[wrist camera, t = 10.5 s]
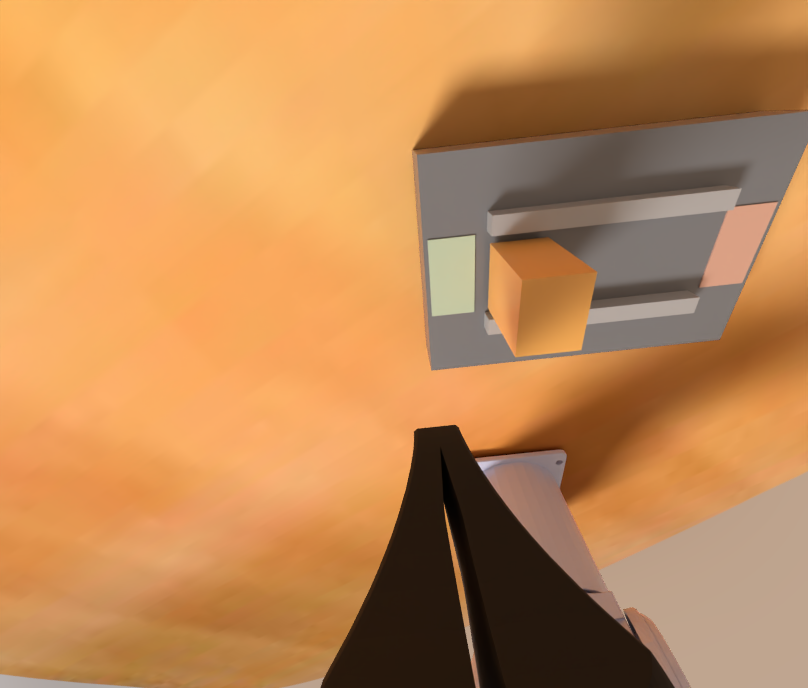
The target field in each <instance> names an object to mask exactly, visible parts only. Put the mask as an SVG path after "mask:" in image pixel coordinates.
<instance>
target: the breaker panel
mask: <svg viewBox="0 0 808 688" xmlns="http://www.w3.org/2000/svg"><path fill="white" fill-rule="evenodd" d="M807 143H808V110H784V111H757V112H748V113H739V114H730V115H721V116H713V117H704V118H695V119H686V120H677V121H668V122H659V123H650V124H641V125H632V126H623V127H614V128H605V129H596V130H587V131H578V132H569V133H560V134H551V135H542V136H534V137H525V138H516V139H507V140H498V141H489V142H480V143H471V144H462V145H453V146H444V147H435V148H426V149H417V150H412V153H413V166H414V180H415V194H416V208H417V222H418V235H419V249H420V263H421V277H422V290H423V304H424V318H425V332H426V345H427V350H428V355H429V361H430V366H431V370H440V369H450V368H459V367H468V366H478V365H487V364H497V363H506V362H515V361H525V360H534V359H543V358H553V357H562V356H572V355H581V354H590V353H600V352H609V351H619V350H628V349H637V348H647V347H656V346H665V345H675V344H684V343H694V342H703V341H712V340H720V338H721V336H722V333H723V331H724V329H725V327H726V324H727V322H728V320H729V318H730V315H731V313H732V311H733V309H734V306H735V304H736V302H737V300H738V297H739V295H740V293H741V291H742V289H743V286H744V284H745V282H746V280H747V277H748V275H749V273H750V271H751V268H752V266H753V264H754V262H755V259H756V257H757V255H758V253H759V251H760V248H761V246H762V244H763V242H764V239H765V237H766V235H767V233H768V230H769V228H770V226H771V224H772V221H773V219H774V217H775V215H776V213H777V210H778V208H779V206H780V204H781V201H782V199H783V197H784V195H785V192H786V190H787V188H788V186H789V183H790V181H791V179H792V177H793V175H794V172H795V170H796V168H797V166H798V163H799V161H800V159H801V157H802V154H803V152H804V150H805V148H806V145H807ZM544 237H549V238H550V239H552V240H553V241H554V242H556V243H557V244H559V245H560V246H561V247H563V248H564V249H566V250H567V251H569V252H570V253H571V254H573V255H574V256H576V257H577V258H578V259H580V260H581V261H583V262H584V263H585V264H587V265H588V266H590V267H591V268H593V269H594V270H595V271H597V276H596V281H595V286H594V291H593V296H592V300H591V305H590V310H589V315H588V320H587V325H586V329H585V334H584V339H583V344H582V349H581V350H579V351H570V352H560V353H551V354H542V355H532V356H523V357H515V356H514V354H513V352H512V350H511V349H510V347H509V345H508V343H507V341H506V340H505V338H504V336H503V334H502V333H501V331H500V329H499V327H498V325H497V324H496V322H495V320H494V318H493V316H492V315H491V313H490V311H489V309H488V291H489V263H490V243H498V242H507V241H516V240H525V239H534V238H544Z"/></svg>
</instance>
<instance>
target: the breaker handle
mask: <svg viewBox="0 0 808 688" xmlns="http://www.w3.org/2000/svg"><path fill="white" fill-rule="evenodd" d="M596 276H597V271H595V270H594V269H593V268H591V267H590V266H588V265H587V264H585V263H584V262H583V261H581V260H580V259H578V258H577V257H576V256H574V255H573V254H571V253H570V252H569V251H567V250H566V249H564V248H563V247H561V246H560V245H559V244H557V243H556V242H554V241H553V240H552V239H550V238H549V237H544V238H534V239H525V240H516V241H507V242H498V243H490V263H489V291H488V309H489V311H490V313H491V315H492V316H493V318H494V320H495V322H496V324H497V325H498V327H499V329H500V331H501V333H502V334H503V336H504V338H505V340H506V341H507V343H508V345H509V347H510V349H511V350H512V352H513V354H514V356H515V357H523V356H532V355H542V354H551V353H560V352H570V351H579V350H581V349H582V344H583V339H584V334H585V329H586V325H587V320H588V315H589V310H590V305H591V300H592V296H593V291H594V286H595V281H596Z"/></svg>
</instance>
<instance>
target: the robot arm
mask: <svg viewBox="0 0 808 688" xmlns="http://www.w3.org/2000/svg"><path fill="white" fill-rule="evenodd" d="M566 458H567V455H566V453H565V451H564V450H560V449H558V450H549V451H539V452H530V453H520V454H511V455H501V456H491V457H482V458H474V456H473V455H472V453H471V451H470V450H469V448H468V446H467V444H466V442H465V440H464V438H463V436H462V434H461V432H460V430H459V427H457V426H456V425H449V426H440V427H430V428H421V429H417V430H416V431H414V450H413V457H412V463H411V469H410V473H409V478H408V482H407V487H406V491H405V494H404V498H403V501H402V505H401V508H400V511H399V515H398V518H397V521H396V524H395V527H394V530H393V533H392V536H391V539H390V541H389V544H388V547H387V549H386V552H385V554H384V557H383V559H382V562H381V564H380V567H379V569H378V571H377V574H376V576H375V579H374V581H373V583H372V585H371V588H370V590H369V592H368V594H367V596H366V598H365V600H364V602H363V604H362V607H361V609H360V611H359V613H358V615H357V617H356V619H355V621H354V623H353V625H352V627H351V629H350V631H349V633H348V635H347V637H346V639H345V641H344V642H343V644H342V646H341V648H340V650H339V652H338V653H337V655H336V657H335V659H334V661H333V663H332V664H331V666H330V668H329V670H328V672H327V674H326V676H325V677H324V679H323V682H322V685H321V688H691V687H690V685H689V683H688V681H687V679H686V677H685V675H684V673H683V672H682V670H681V668H680V666H679V664H678V662H677V661H676V659H675V657H674V655H673V654H672V652H671V650H670V648H669V647H668V645H667V643H666V641H665V640H664V638H663V636H662V635H661V633H660V632H659V630H658V629H657V627H656V625H655V624H654V623H653V621H652V620H651V619H650V618H648V617H646V616H645V615H643V614H641V613H639V612H638V611H637V609H635V608H627V609H623V610H624V613H625V616H626V619H627V621H628V624H629V625H628V624H627V621H626V620H625V617H624V615H623V613H622V611H621V609H620V607H619V605H618V603H617V601H616V599H615V597H614V595H613V593H612V592H611V591H608V589H607V587H606V585H605V583H604V581H603V579H602V576H601V574H600V572H599V570H598V568H597V566H596V564H595V562H594V560H593V558H592V555H591V553H590V551H589V549H588V547H587V545H586V543H585V541H584V539H583V537H582V535H581V533H580V530H579V528H578V526H577V524H576V522H575V520H574V518H573V516H572V514H571V512H570V510H569V507H568V505H567V503H566V501H565V499H564V497H563V495H562V493H561V491H560V485H561V481H562V476H563V472H564V467H565V463H566ZM444 505H445V509H446V513H447V518H448V522H449V526H450V530H451V534H452V538H453V542H454V547H455V551H456V555H457V559H458V563H459V567H460V571H461V576H462V581H463V586H464V591H465V598H466V604H467V610H468V616H469V623H470V629H471V635H472V642H473V648H474V654H473V658H472V661H471V660H470V654H469V649H468V644H467V639H466V634H465V628H464V622H463V617H462V611H461V606H460V601H459V595H458V590H457V584H456V578H455V573H454V567H453V561H452V556H451V550H450V544H449V538H448V532H447V527H446V521H445V512H444ZM629 626H630V627H629ZM630 628H631V629H630Z"/></svg>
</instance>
